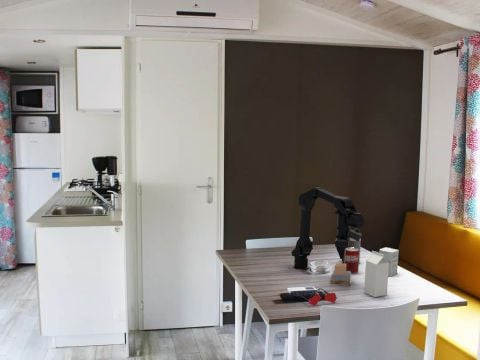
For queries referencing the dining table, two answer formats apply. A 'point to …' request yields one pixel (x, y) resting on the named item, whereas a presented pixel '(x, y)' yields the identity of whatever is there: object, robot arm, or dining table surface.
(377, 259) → the milk carton
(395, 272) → the supplement box
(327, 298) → the glasses
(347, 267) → the soda can
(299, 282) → the dining table surface
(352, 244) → the pillar candle
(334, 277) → the tower top
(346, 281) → the tower base
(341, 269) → the block
